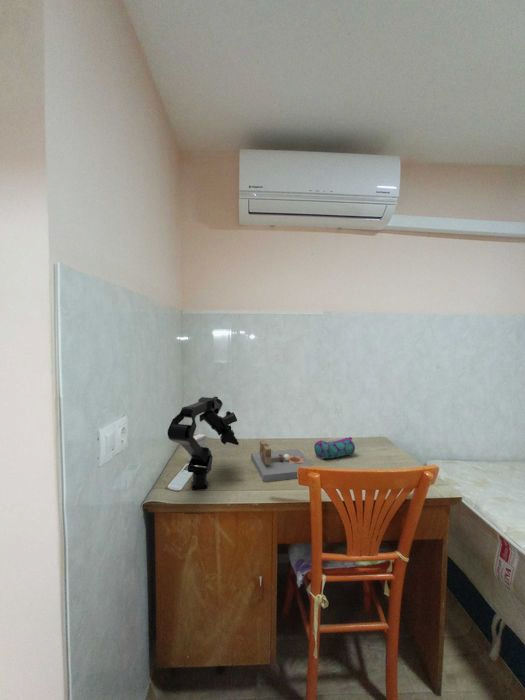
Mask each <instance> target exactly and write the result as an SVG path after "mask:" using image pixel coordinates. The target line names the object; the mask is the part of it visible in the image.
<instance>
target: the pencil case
mask: <svg viewBox="0 0 525 700" xmlns="http://www.w3.org/2000/svg"><path fill="white" fill-rule="evenodd" d="M352 439H353V437H352V436H349V437H345V438H341V439H337V440H332V441H325V440H323V439H322V440H318V441H317V442H315V443H314V446H313V447H314V453H315V455H316V457H317V458H318V457H319V458H318V459H320V458H321V460H324V459H335V457H336V458H340V456H341V457H345V455H346V456H348V455H353V454H354V453H355V451H356V450H355V449H356V447H355V443H354V442H353V440H352Z"/></svg>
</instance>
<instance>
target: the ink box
mask: <svg viewBox="0 0 525 700" xmlns="http://www.w3.org/2000/svg"><path fill="white" fill-rule="evenodd" d="M207 436H208V435H207V434H203V433H198V434H196V435H193V437H194V439H195V440H196V441H197V443H198V444H199V445H200V447H207ZM207 448H208V447H207ZM187 454H188V456H187V458H188V462H190V459H191V455H190V454H189V453H188V452H187Z"/></svg>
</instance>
